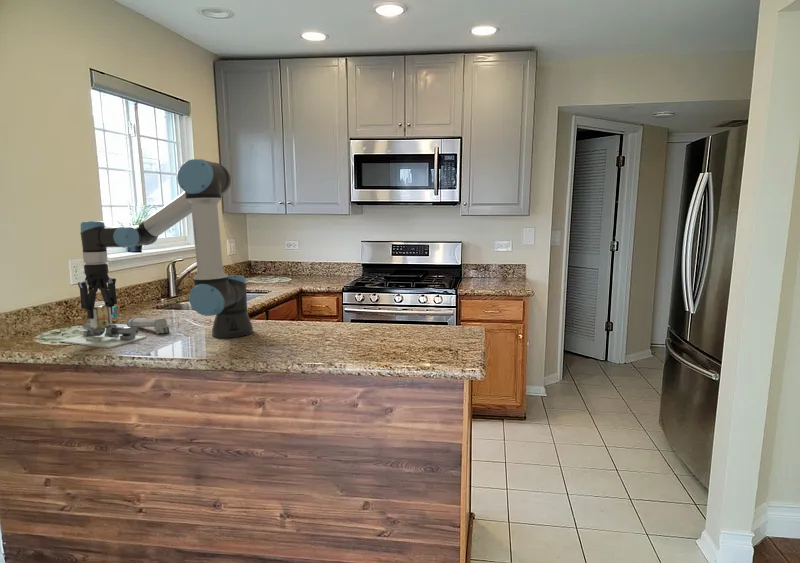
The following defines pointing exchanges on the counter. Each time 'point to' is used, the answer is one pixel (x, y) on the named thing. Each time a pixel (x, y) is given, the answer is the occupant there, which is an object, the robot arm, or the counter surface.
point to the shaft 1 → (92, 330)
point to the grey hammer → (150, 324)
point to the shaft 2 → (121, 332)
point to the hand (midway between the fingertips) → (101, 325)
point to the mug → (114, 309)
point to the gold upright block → (102, 316)
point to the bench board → (100, 340)
